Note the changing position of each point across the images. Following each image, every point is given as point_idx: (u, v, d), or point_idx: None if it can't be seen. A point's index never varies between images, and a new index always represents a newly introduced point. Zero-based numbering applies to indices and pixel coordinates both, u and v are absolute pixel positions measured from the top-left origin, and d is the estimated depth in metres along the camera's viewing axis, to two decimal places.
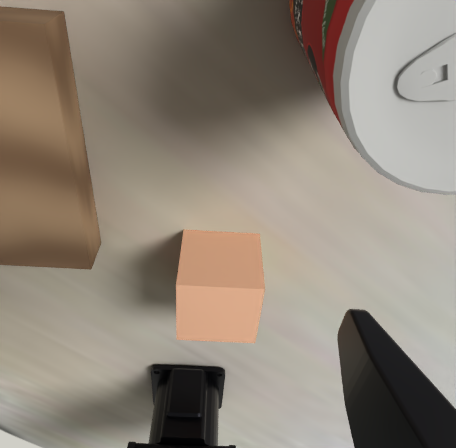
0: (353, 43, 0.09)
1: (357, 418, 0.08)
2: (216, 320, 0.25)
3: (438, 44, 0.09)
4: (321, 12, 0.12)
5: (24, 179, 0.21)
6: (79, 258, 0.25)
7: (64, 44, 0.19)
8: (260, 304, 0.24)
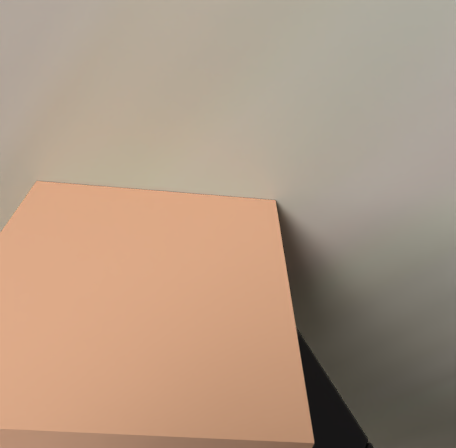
0: None
1: None
2: None
3: None
4: None
5: None
6: None
7: None
8: None
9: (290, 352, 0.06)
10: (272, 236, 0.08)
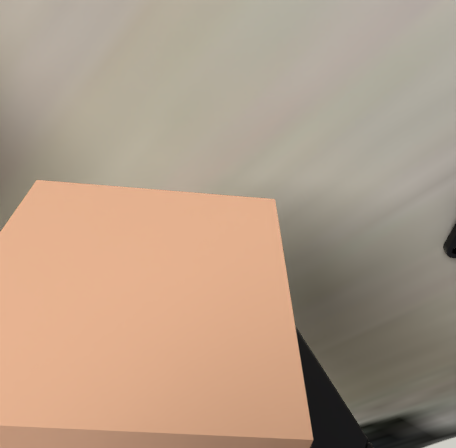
0: None
1: None
2: None
3: None
4: None
5: None
6: None
7: None
8: None
9: (289, 350, 0.06)
10: (272, 235, 0.08)
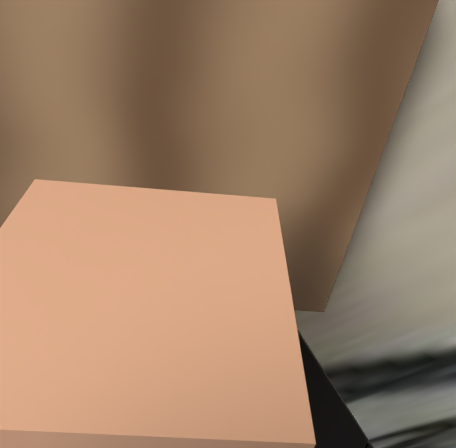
0: None
1: None
2: None
3: None
4: None
5: (201, 36, 0.12)
6: None
7: None
8: None
9: (291, 352, 0.06)
10: (272, 234, 0.08)
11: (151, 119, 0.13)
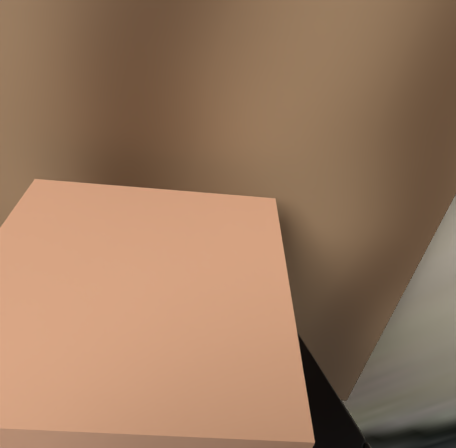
0: None
1: None
2: None
3: None
4: None
5: (193, 88, 0.08)
6: None
7: None
8: None
9: (290, 351, 0.06)
10: (272, 234, 0.08)
11: None
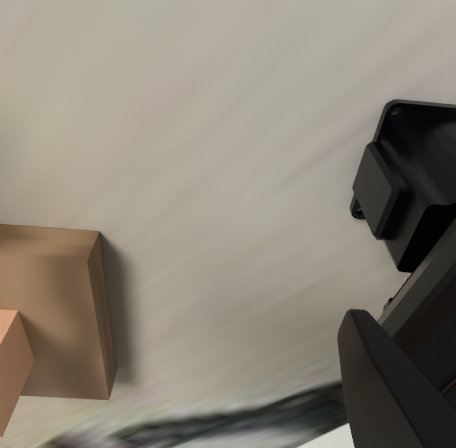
0: None
1: (357, 418, 0.08)
2: None
3: None
4: None
5: None
6: (71, 268, 0.22)
7: None
8: None
9: None
10: (5, 327, 0.23)
11: None
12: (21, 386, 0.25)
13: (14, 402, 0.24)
